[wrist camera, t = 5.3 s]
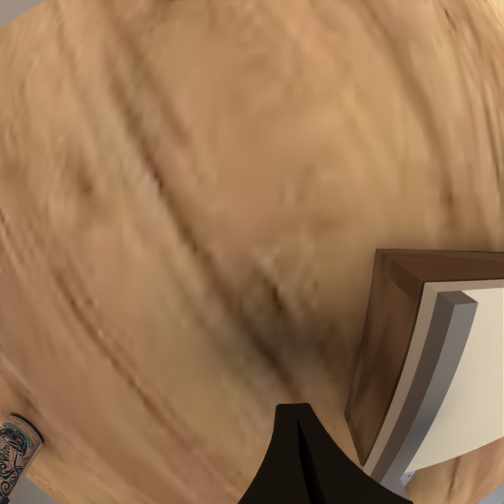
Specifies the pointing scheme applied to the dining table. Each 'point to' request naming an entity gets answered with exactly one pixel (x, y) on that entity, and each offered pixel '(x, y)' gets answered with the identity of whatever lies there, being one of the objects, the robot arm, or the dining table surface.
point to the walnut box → (400, 327)
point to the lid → (446, 382)
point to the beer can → (16, 454)
